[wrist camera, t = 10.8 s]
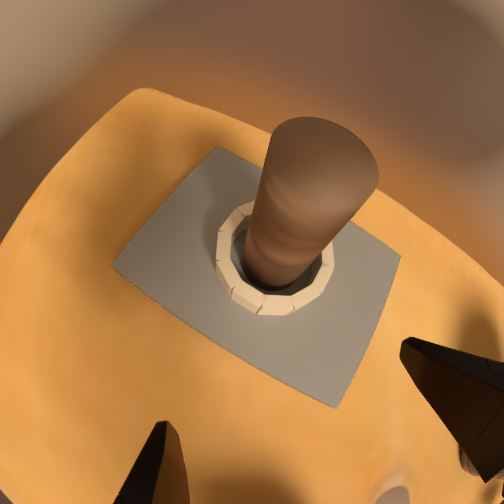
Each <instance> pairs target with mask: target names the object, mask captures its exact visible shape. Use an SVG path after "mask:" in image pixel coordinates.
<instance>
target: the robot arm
mask: <svg viewBox="0 0 504 504" xmlns="http://www.w3.org/2000/svg"><path fill="white" fill-rule="evenodd" d="M400 360H401V362H402V364H403V365H404V367H405V368H406V370H407V372H408V373H409V375H410V377H411V378H412V380H413V382H414V383H415V385H416V387H417V388H418V389H419V391H420V392H421V393H422V395H423V396H424V397H425V399H426V400H427V401H428V403H429V404H430V405H431V407H432V408H433V409H434V411H435V412H436V413H437V415H438V416H439V417H440V419H441V420H442V422H443V423H444V424H445V426H446V427H447V428H448V430H449V431H450V433H451V434H452V435H453V437H454V438H455V440H456V441H457V442H458V444H459V445H460V447H461V448H462V450H463V451H464V453H465V454H466V456H467V457H468V459H469V460H470V462H471V463H472V465H473V466H474V467H475V469H476V471H477V472H478V474H479V475H480V477H481V478H482V480H483V481H484V482H485V483H486V482H488V481H489V480H490V479H492V478H493V477H494V476H495V475H497V474H498V473H499V472H500V471H501V470H503V469H504V363H503V362H499V361H494V360H490V359H487V358H483V357H479V356H476V355H472V354H469V353H465V352H462V351H458V350H455V349H451V348H448V347H445V346H441V345H438V344H434V343H431V342H428V341H425V340H421V339H418V338H415V337H408V338H407V339H405V340H403V341H402V344H401V349H400ZM118 494H119V495H117V497H116V499H115V501H114V503H113V504H190V498H189V490H188V481H187V473H186V468H185V463H184V459H183V454H182V449H181V444H180V439H179V435H178V433H177V431H176V430H175V429H174V427H173V426H172V425H171V424H170V422H169V421H159V422H157V423H156V424H155V426H154V428H153V430H152V432H151V433H150V435H149V437H148V439H147V441H146V443H145V445H144V446H143V448H142V450H141V452H140V454H139V456H138V458H137V460H136V461H135V463H134V465H133V467H132V469H131V471H130V473H129V475H128V476H127V478H126V480H125V482H124V484H123V486H122V488H121V490H120V491H119V493H118ZM502 496H503V498H504V484H503V489H502ZM500 504H504V500H503V501H502V502H501V503H500Z"/></svg>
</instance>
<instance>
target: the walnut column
mask: <svg viewBox="0 0 504 504" xmlns="http://www.w3.org/2000/svg"><path fill="white" fill-rule="evenodd" d="M378 179H379V173H378V167H377V164H376V161H375V159H374V157H373V155H372V153H371V152H370V150H369V149H368V147H367V146H366V145H365V144H364V143H363V142H362V141H361V140H360V139H359V138H358V137H357V136H356V135H355V134H353V133H352V132H351V131H349V130H348V129H346V128H344V127H342V126H340V125H338V124H336V123H334V122H331V121H328V120H325V119H321V118H315V117H298V118H293V119H289V120H287V121H285V122H283V123H281V124H280V125H279V126H278V127H277V128H276V129H275V130H274V132H273V133H272V136H271V139H270V143H269V147H268V151H267V155H266V159H265V163H264V167H263V171H262V175H261V179H260V183H259V187H258V191H257V195H256V199H255V203H254V207H253V211H252V215H251V219H250V223H249V227H248V231H247V235H246V240H245V244H244V248H243V252H242V256H241V265H242V269H243V272H244V274H245V276H246V277H247V279H248V280H249V281H250V282H251V283H252V284H253V285H255V286H256V287H258V288H260V289H263V290H267V291H278V290H282V289H285V288H287V287H288V286H290V285H291V284H292V283H293V282H294V281H295V280H296V279H297V278H298V277H299V276H300V275H301V274H302V273H303V272H304V271H305V269H306V268H307V267H308V266H309V265H310V264H311V263H312V262H313V261H314V260H315V259H316V257H317V256H318V255H319V254H320V253H321V252H322V251H323V250H324V249H325V248H326V246H327V245H328V244H329V243H330V242H331V241H332V240H333V239H334V237H335V236H336V235H337V234H338V233H339V232H340V231H341V230H342V228H343V227H344V226H345V225H346V224H347V223H348V222H349V220H350V219H351V218H352V217H353V216H354V215H355V213H356V212H357V211H358V210H359V209H360V208H361V206H362V205H363V204H364V203H365V202H366V200H367V199H368V198H369V197H370V196H371V194H372V193H373V192H374V190H375V189H376V187H377V183H378Z"/></svg>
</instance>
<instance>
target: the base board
mask: <svg viewBox="0 0 504 504" xmlns="http://www.w3.org/2000/svg"><path fill="white" fill-rule="evenodd" d="M262 171H263V169H262V168H260V167H258V166H256V165H254V164H253V163H251V162H249V161H247V160H245V159H243V158H241V157H239V156H237V155H235V154H233V153H231V152H229V151H227V150H225V149H223V148H221V147H219V146H217V147H216V148H215V149H214V150H213V151H212V152H211V153H210V154H209V155H208V156H206V157H205V158H204V159H203V160H202V161H201V162H200V163H199V164H198V166H197V167H196V168H195V169H194V170H193V171H192V172H191V173H190V174H189V175H188V176H187V177H186V178H185V179H184V180H183V181H182V182H181V183H180V184H179V185H178V186H177V187H176V189H175V190H174V191H173V192H172V193H171V194H170V195H169V196H168V197H167V198H166V199H165V201H164V202H163V203H162V204H161V205H160V206H159V207H158V208H157V210H156V211H155V212H154V213H153V214H152V215H151V216H150V218H149V219H148V220H147V221H146V222H145V224H144V225H143V226H142V227H141V228H140V229H139V231H138V232H137V233H136V234H135V236H134V237H133V238H132V239H131V240H130V242H129V243H128V244H127V245H126V247H125V248H124V249H123V250H122V252H121V253H120V254H119V256H118V257H117V258H116V259H115V261H114V262H113V263H112V265H111V266H112V267H113V268H114V269H115V270H116V271H117V272H118V273H119V274H120V275H122V276H123V277H124V278H125V279H127V280H128V281H129V282H130V283H132V284H133V285H134V286H135V287H137V288H138V289H139V290H141V291H142V292H143V293H145V294H146V295H147V296H148V297H150V298H151V299H152V300H154V301H155V302H156V303H158V304H159V305H161V306H162V307H163V308H165V309H166V310H167V311H169V312H170V313H172V314H173V315H174V316H176V317H177V318H179V319H180V320H182V321H183V322H184V323H186V324H187V325H189V326H190V327H192V328H193V329H195V330H196V331H198V332H199V333H201V334H202V335H204V336H205V337H207V338H208V339H210V340H211V341H213V342H214V343H216V344H218V345H219V346H221V347H222V348H224V349H225V350H227V351H229V352H230V353H232V354H234V355H235V356H237V357H238V358H240V359H242V360H243V361H245V362H247V363H248V364H250V365H252V366H254V367H255V368H257V369H259V370H261V371H262V372H264V373H266V374H268V375H269V376H271V377H273V378H275V379H277V380H278V381H280V382H282V383H284V384H286V385H288V386H290V387H291V388H293V389H295V390H297V391H299V392H301V393H303V394H305V395H307V396H309V397H311V398H313V399H315V400H317V401H319V402H321V403H323V404H325V405H327V406H329V407H332V408H335V409H337V407H338V405H339V404H340V402H341V400H342V398H343V396H344V394H345V393H346V391H347V389H348V387H349V385H350V383H351V381H352V379H353V377H354V375H355V373H356V371H357V369H358V367H359V365H360V363H361V360H362V358H363V356H364V354H365V352H366V350H367V347H368V345H369V343H370V340H371V338H372V336H373V333H374V331H375V329H376V326H377V324H378V321H379V319H380V316H381V314H382V311H383V308H384V306H385V303H386V300H387V297H388V295H389V292H390V289H391V286H392V283H393V280H394V277H395V274H396V271H397V268H398V264H399V261H400V258H401V255H399V254H398V253H397V252H395V251H394V250H392V249H391V248H390V247H388V246H387V245H385V244H384V243H382V242H381V241H379V240H378V239H377V238H375V237H374V236H372V235H371V234H369V233H368V232H366V231H365V230H363V229H362V228H360V227H359V226H357V225H356V224H354V223H353V222H351V221H350V220H349V222H348V223H347V224H346V225H345V226H344V227H343V228H342V230H341V231H340V232H339V233H338V234H337V235H336V236H335V237H334V239H333V240H332V241H331V242H330V243H329V244H328V245H327V246H326V248H325V249H324V250H323V251H322V252H321V253H320V254H319V255H318V256H317V257H316V259H315V260H314V261H313V262H312V263H311V264H310V265H309V266H308V267H307V268H306V269H305V271H304V272H303V273H302V274H301V275H300V276H299V277H298V278H297V279H296V280H295V281H294V282H293V283H292V284H291V285H290V286H288V287H287V288H285V289H282V290H278V291H267V290H263V289H260V288H258V287H256V286H255V285H253V284H252V283H251V282H250V281H249V280H248V279H247V277H246V276H245V274H244V272H243V269H242V265H241V256H242V252H243V248H244V244H245V240H246V235H247V231H248V227H249V223H250V219H251V215H252V211H253V207H254V203H255V199H256V195H257V191H258V187H259V183H260V179H261V175H262Z"/></svg>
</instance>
